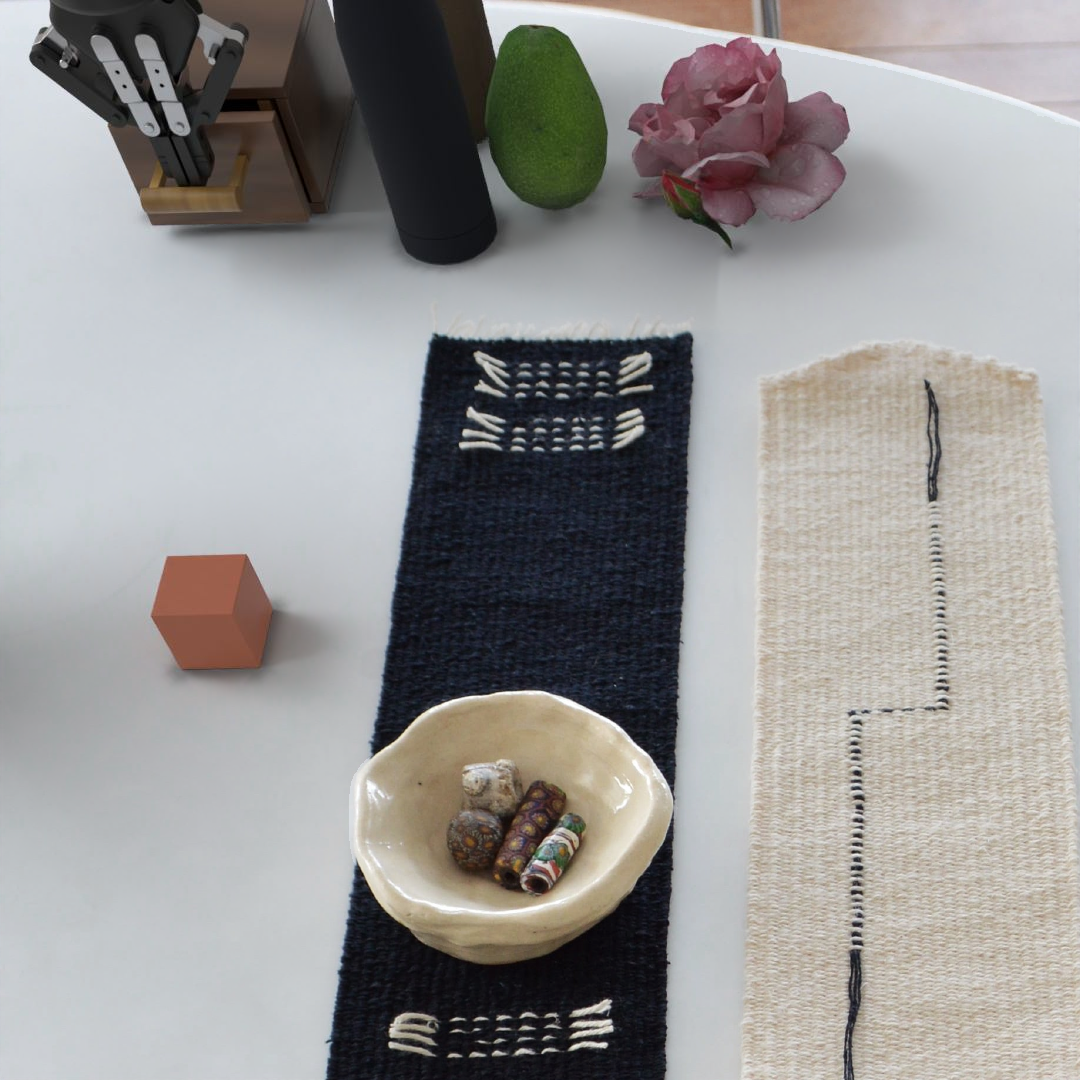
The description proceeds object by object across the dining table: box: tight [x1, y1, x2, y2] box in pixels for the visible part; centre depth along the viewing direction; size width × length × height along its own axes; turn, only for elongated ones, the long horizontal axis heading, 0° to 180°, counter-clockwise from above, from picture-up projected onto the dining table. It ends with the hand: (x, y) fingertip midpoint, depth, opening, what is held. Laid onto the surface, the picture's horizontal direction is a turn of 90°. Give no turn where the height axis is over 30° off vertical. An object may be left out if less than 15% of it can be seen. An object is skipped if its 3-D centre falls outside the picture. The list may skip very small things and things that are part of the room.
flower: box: [627, 36, 851, 252], centre depth 115 cm, size 15×15×10 cm
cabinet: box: [187, 0, 356, 214], centre depth 118 cm, size 14×12×9 cm
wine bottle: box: [331, 0, 498, 265], centre depth 104 cm, size 6×6×30 cm
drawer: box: [107, 98, 312, 227], centre depth 115 cm, size 17×10×7 cm, turn 2°
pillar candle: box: [437, 0, 497, 144], centre depth 118 cm, size 10×10×15 cm
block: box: [150, 553, 274, 670], centre depth 97 cm, size 4×4×4 cm
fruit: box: [485, 24, 609, 211], centre depth 114 cm, size 8×8×12 cm
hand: (195, 178), depth 111 cm, fingers closed
